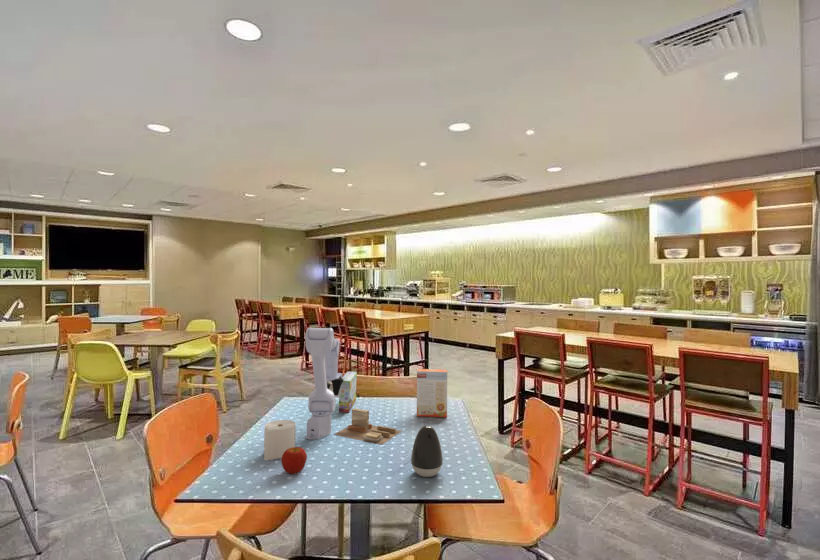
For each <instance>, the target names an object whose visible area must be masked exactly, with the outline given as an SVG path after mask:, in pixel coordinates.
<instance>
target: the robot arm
mask: <svg viewBox="0 0 820 560" xmlns="http://www.w3.org/2000/svg"><path fill="white" fill-rule="evenodd" d="M304 338H305V339H304V340H305V349H306V352H307V353H308V354H310V357H311V362H312V371H313V372H312V373H313V380H314V383H313V384H314V389H313V390H312V391H311V392H310V394H309V396H308V404H307V405H308V406H307V407H308V411H309V413H310V414H311V417H309V419H307V422H306V436H305V437H304V438H305V439H306V440H310V441H313V440H315V439H317V440H320V439H321V438H324V437H327V436H329V435H330V434H332V414H333V413H334V412H335V411H336V404H337V403H336V402H337V401H336V397H335V396H338V395H339V390H340V387H341V384H342V382H343V379H342V377H343V372H342V373H341V372H339V371H338V368H339V367H338V366H339V365H338V362H339V359H338V358H339V353H340V340H338V338H336V337H335V331H334V329H333V328H332V327H308V328H307V329H306V331H305V337H304ZM328 382H331V384H329V383H328ZM331 385H332V390H331V389H330V387H331Z"/></svg>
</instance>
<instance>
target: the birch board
mask: <svg viewBox="0 0 820 560" xmlns="http://www.w3.org/2000/svg"><path fill="white" fill-rule="evenodd" d="M369 424H370V411H369V410H368V409H367V410H366V409H362V408H356V407H354V408H351V425H353V426H359V427H364V428H366V430H368V429H369Z"/></svg>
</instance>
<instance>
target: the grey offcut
mask: <svg viewBox="0 0 820 560" xmlns="http://www.w3.org/2000/svg"><path fill="white" fill-rule="evenodd" d="M382 439H383V436H381V437H380V438H378V439H372V438H367V437H364V440H368V441H373V442H377V443H378V442H379V441H381V440H382Z"/></svg>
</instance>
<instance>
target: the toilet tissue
mask: <svg viewBox="0 0 820 560" xmlns="http://www.w3.org/2000/svg"><path fill="white" fill-rule="evenodd" d="M296 424H297V423H296V422H295V421H294V420H291V419H289V420H288V419H278V420H273V421H270V422H267V423H266V424H264V429H263V430H264V431H263V432H264V434H263V435H264V436H263V437H264V438H263V448H264V449H263V455H264V456H263V457H264V458H263V461H272V460H276V459H278V460H279V459H281V458H282V455H283V453H284V452H285V451H286V450H287V449H289V448H293V447H296V436H297V435H296V431H297V430H296V429H297V428H296V427H297V425H296Z"/></svg>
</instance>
